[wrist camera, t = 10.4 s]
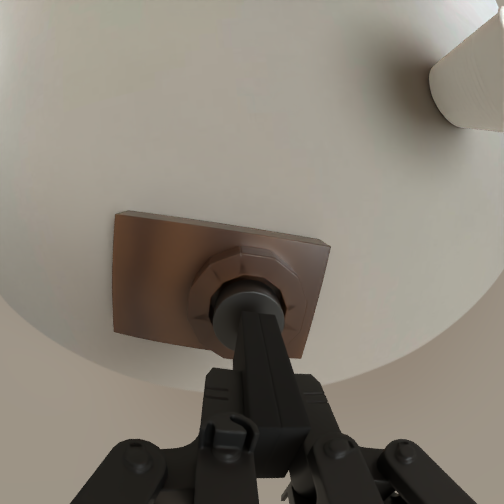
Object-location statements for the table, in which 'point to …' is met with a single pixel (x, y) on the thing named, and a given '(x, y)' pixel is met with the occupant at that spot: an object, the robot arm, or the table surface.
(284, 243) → the button block
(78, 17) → the table surface
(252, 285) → the button
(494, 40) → the cup
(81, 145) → the table surface
